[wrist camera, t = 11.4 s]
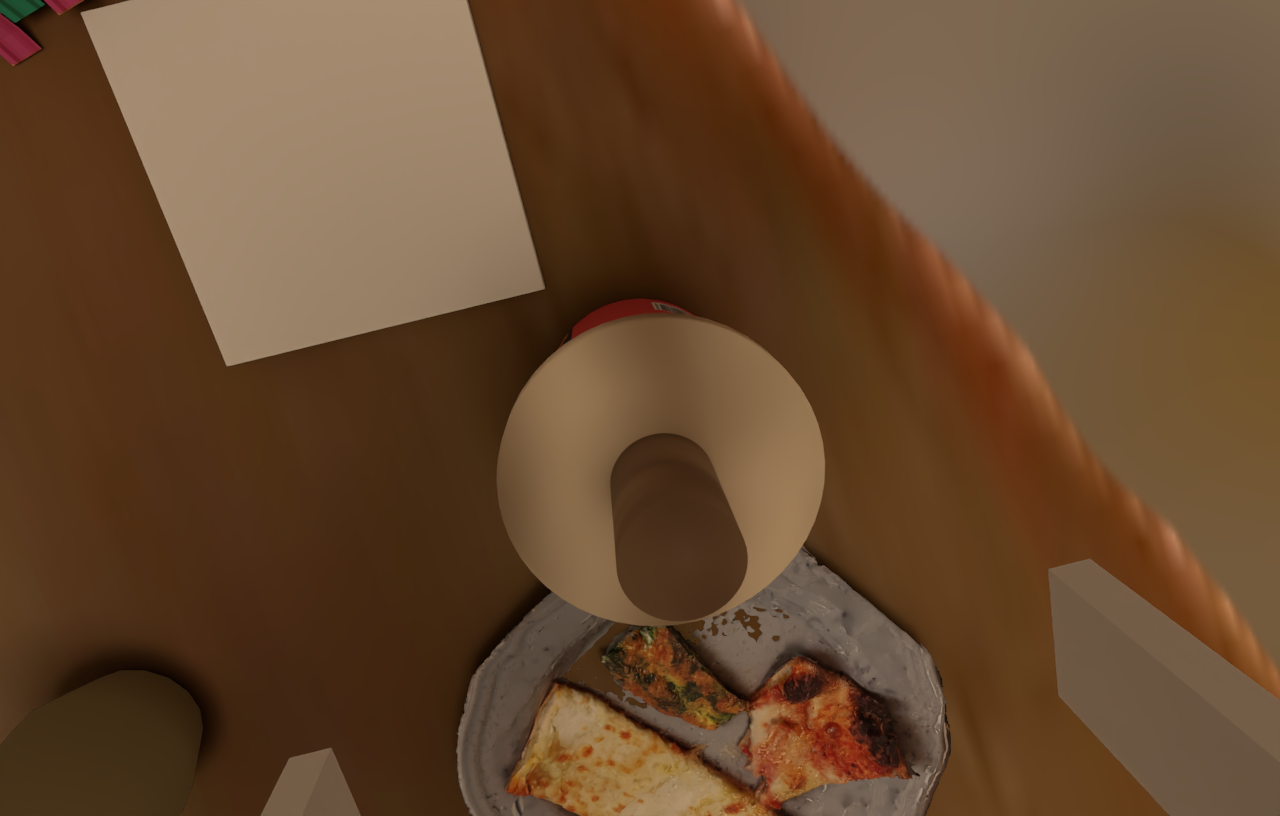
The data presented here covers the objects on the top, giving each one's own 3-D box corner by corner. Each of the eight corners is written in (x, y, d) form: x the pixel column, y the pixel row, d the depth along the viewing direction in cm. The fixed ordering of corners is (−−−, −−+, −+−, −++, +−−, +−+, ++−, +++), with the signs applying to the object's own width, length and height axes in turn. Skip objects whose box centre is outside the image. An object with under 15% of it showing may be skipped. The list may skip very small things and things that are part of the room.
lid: (548, 636, 26) (537, 773, 20) (460, 357, 23) (416, 423, 17) (835, 566, 26) (909, 683, 20) (785, 277, 23) (853, 316, 17)
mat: (233, 362, 34) (227, 366, 33) (90, 15, 29) (80, 12, 29) (545, 286, 34) (544, 289, 33) (447, -73, 29) (445, -78, 29)
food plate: (1017, 715, 42) (1053, 763, 39) (724, 965, 47) (733, 1027, 43) (679, 430, 37) (686, 457, 33) (384, 744, 41) (364, 796, 38)
